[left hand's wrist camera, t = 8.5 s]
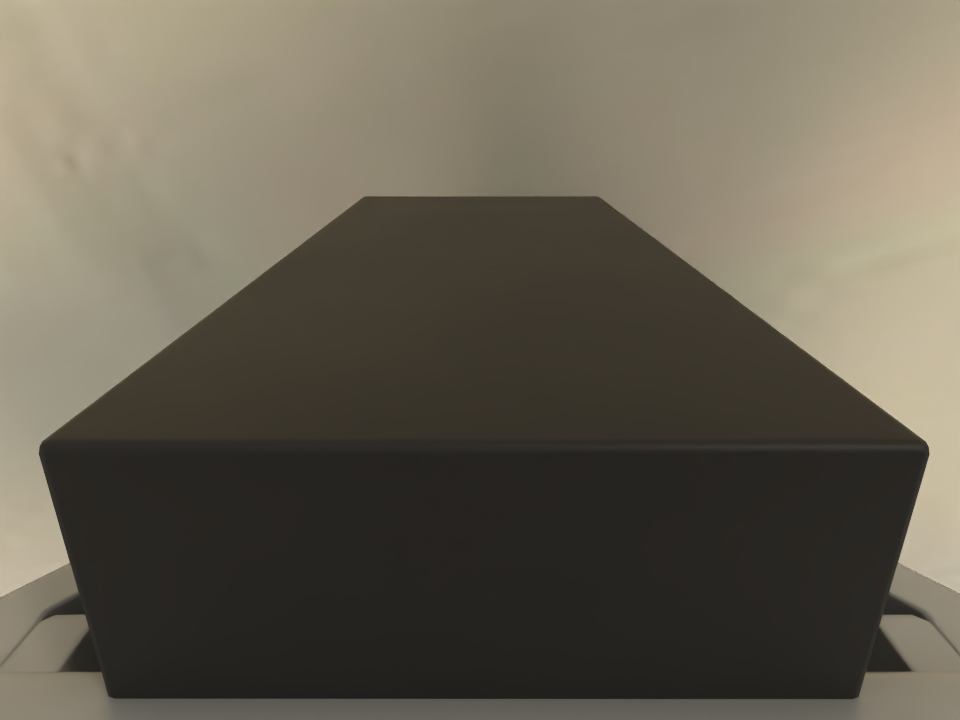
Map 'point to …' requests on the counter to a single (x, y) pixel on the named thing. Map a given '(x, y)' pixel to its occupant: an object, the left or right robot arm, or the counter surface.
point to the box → (483, 478)
